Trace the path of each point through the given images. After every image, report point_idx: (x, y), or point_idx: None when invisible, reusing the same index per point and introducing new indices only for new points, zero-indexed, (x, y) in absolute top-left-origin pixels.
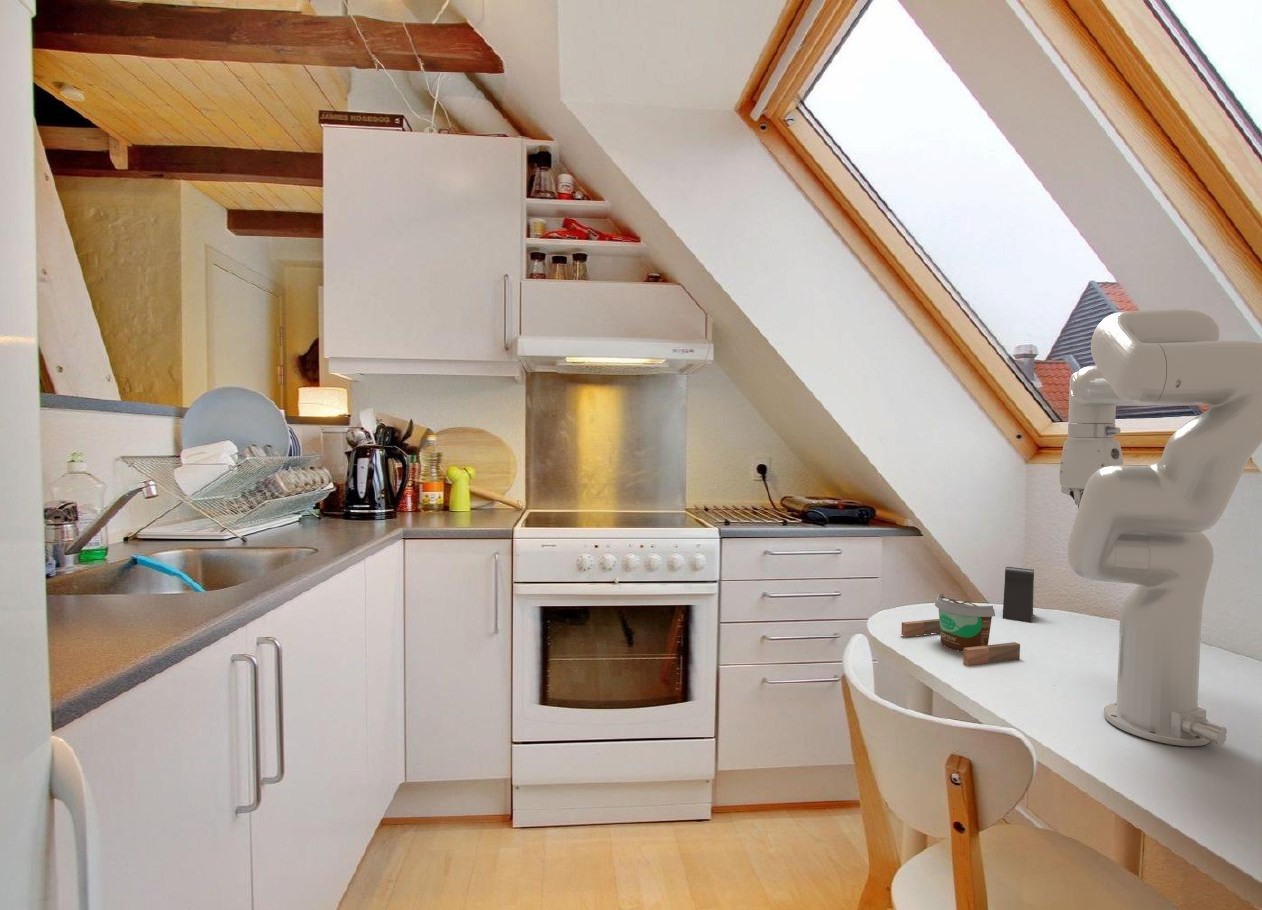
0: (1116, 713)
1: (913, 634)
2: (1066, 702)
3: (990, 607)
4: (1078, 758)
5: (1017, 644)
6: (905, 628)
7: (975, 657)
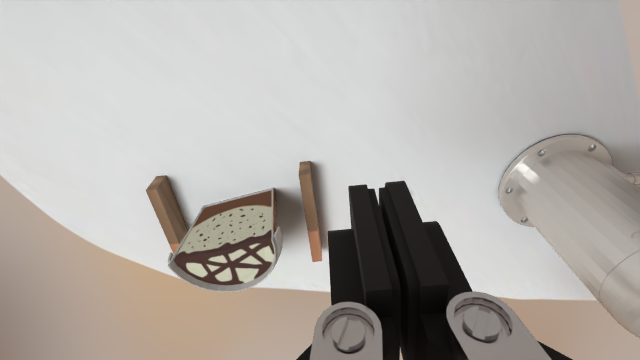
0: (521, 212)
1: None
2: (457, 218)
3: (275, 244)
4: (541, 292)
5: (310, 179)
6: None
7: (320, 242)
